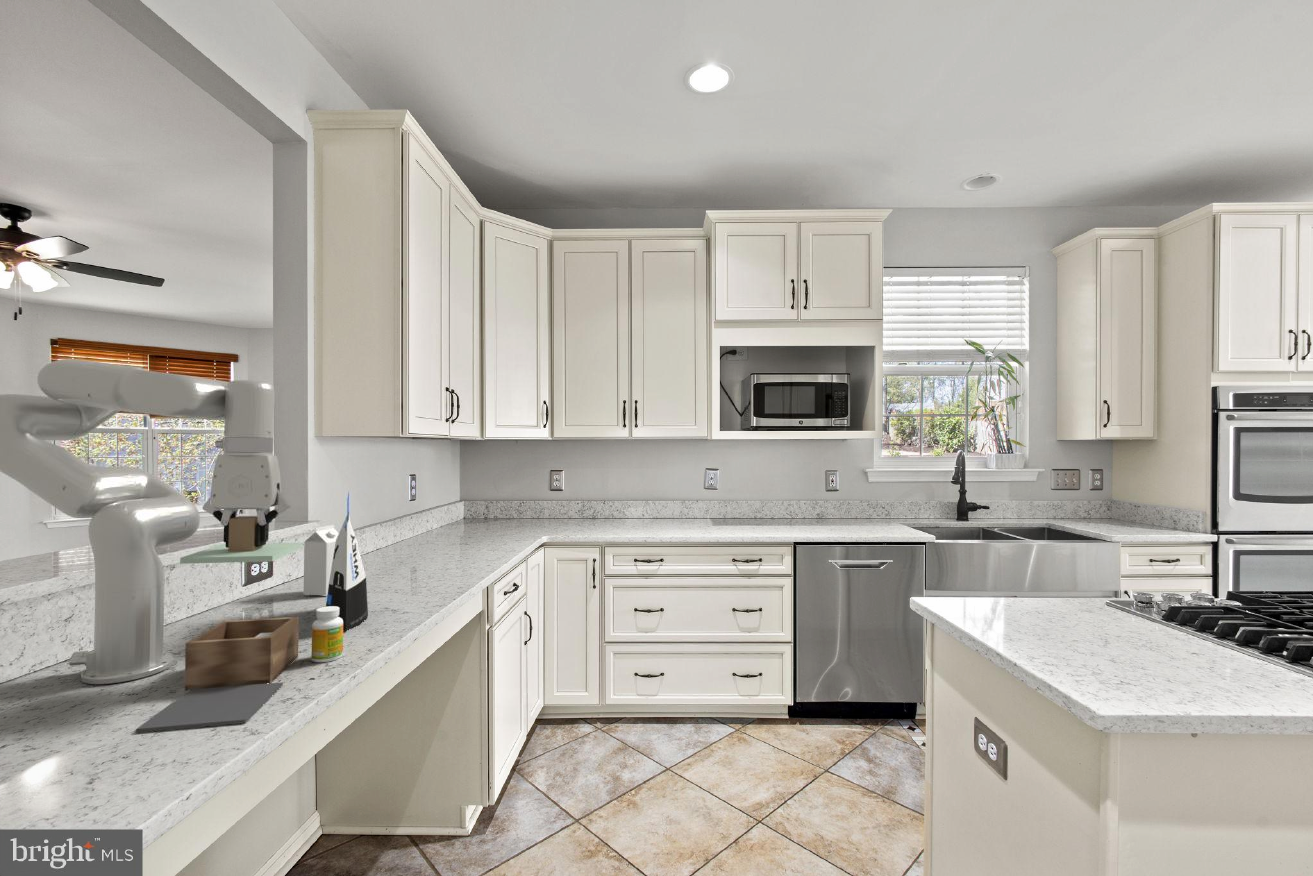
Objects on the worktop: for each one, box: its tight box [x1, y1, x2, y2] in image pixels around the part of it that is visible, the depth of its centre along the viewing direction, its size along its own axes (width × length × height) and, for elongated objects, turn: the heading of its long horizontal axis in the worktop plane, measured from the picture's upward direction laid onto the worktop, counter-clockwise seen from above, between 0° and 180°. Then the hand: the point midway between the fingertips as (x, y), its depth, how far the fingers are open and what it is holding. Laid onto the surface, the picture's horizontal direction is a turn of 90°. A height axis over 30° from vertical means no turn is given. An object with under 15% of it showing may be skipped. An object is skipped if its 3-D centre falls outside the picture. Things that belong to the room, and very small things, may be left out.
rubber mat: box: [135, 682, 284, 734], centre depth 93 cm, size 14×14×1 cm
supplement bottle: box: [310, 606, 344, 663], centre depth 114 cm, size 5×5×10 cm
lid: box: [179, 515, 303, 565], centre depth 107 cm, size 14×14×7 cm
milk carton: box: [303, 524, 339, 596], centre depth 164 cm, size 7×7×19 cm
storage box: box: [184, 616, 300, 691], centre depth 107 cm, size 13×13×8 cm
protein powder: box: [325, 491, 369, 633], centre depth 141 cm, size 10×24×30 cm, turn 27°
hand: (246, 545), depth 107 cm, fingers closed on lid, 4 cm apart
